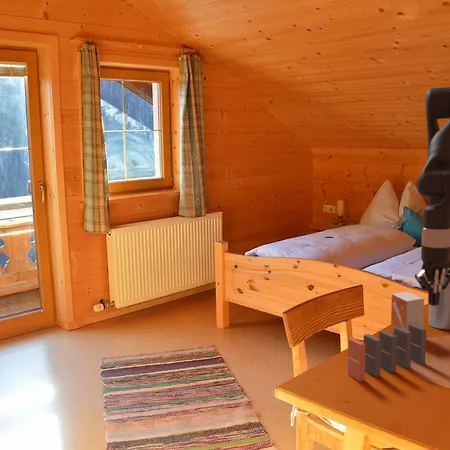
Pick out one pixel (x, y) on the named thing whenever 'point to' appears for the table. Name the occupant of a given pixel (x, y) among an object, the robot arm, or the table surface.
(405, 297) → the small box
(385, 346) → the domino
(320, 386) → the table surface
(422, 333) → the domino
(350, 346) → the domino
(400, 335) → the domino
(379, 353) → the domino
